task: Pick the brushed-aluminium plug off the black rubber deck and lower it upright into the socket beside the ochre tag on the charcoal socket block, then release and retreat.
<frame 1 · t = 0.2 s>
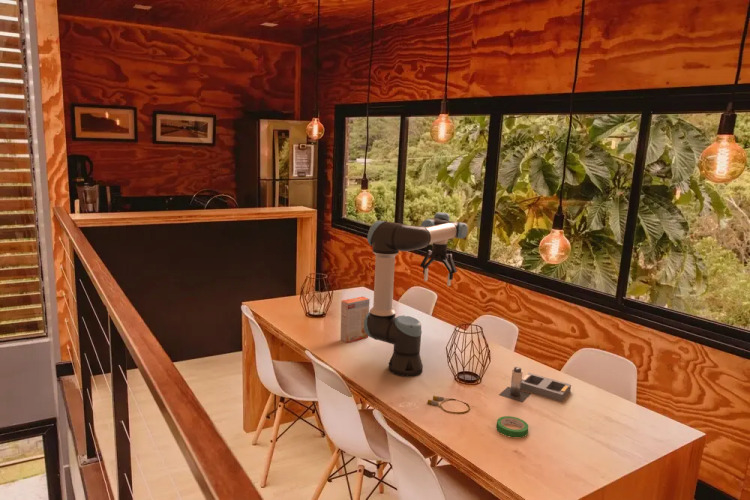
hand: (437, 283, 287), 28 cm above the table, fingers open, 13 cm apart
looped connector cable: (449, 406, 215), on the table
cracker box: (354, 339, 280), on the table
socket block: (543, 392, 230), on the table
deck: (514, 396, 225), on the table
tape roll: (511, 430, 199), on the table
plug: (515, 394, 225), point 1 cm above the table, touching deck
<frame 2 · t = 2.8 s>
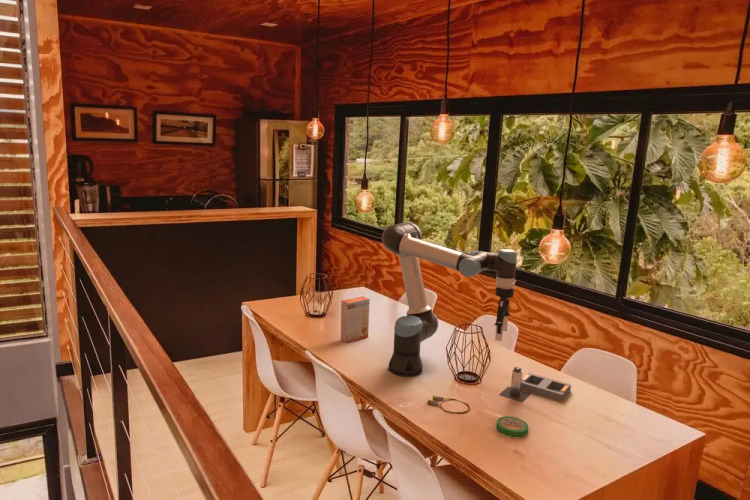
hand: (501, 335, 234), 21 cm above the table, fingers open, 13 cm apart
nothing on the table moved.
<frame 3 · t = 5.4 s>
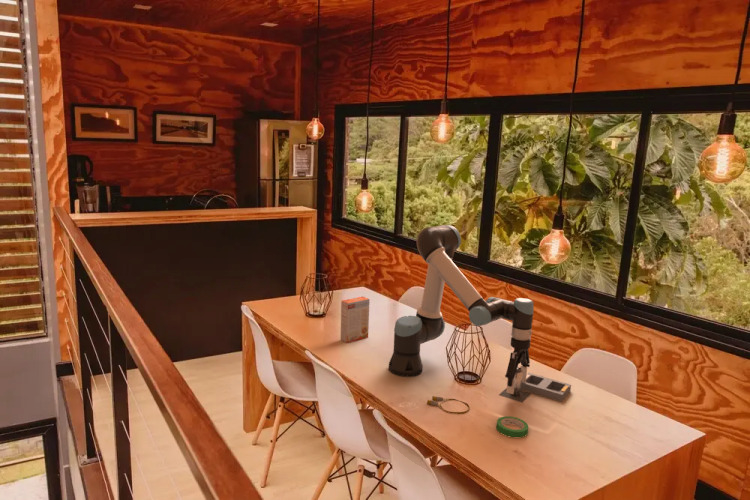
hand: (516, 387, 224), 4 cm above the table, fingers open, 13 cm apart
nothing on the table moved.
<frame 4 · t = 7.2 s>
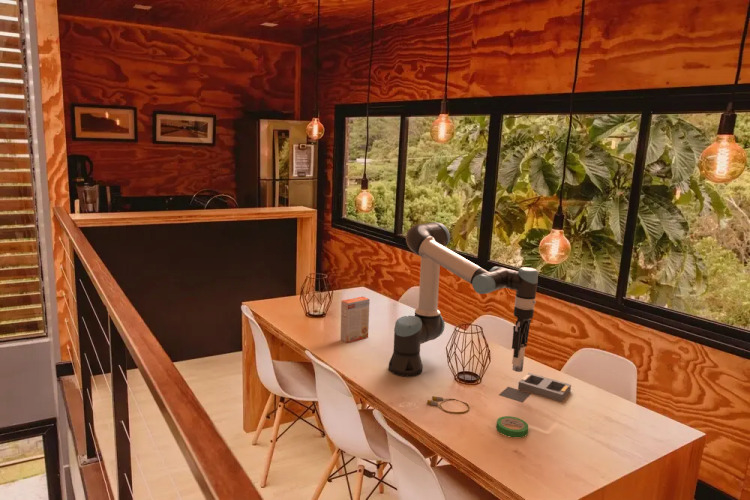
hand: (517, 362, 222), 15 cm above the table, fingers closed on plug, 3 cm apart
plug: (517, 369, 223), point 12 cm above the table, touching gripper
everything else where it was.
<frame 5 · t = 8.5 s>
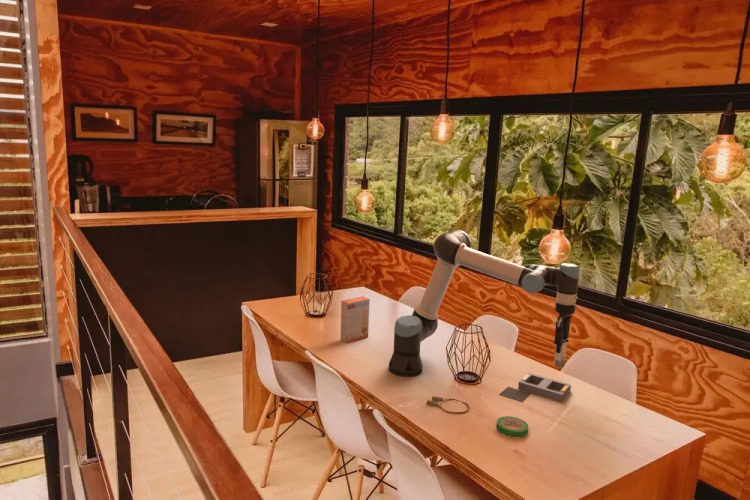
hand: (559, 358, 224), 16 cm above the table, fingers closed on plug, 3 cm apart
plug: (559, 365, 225), point 13 cm above the table, touching gripper
everything else where it was.
when the fingers open (4 cm above the table, at t = 10.3 s): plug stays where it is, resting on socket block.
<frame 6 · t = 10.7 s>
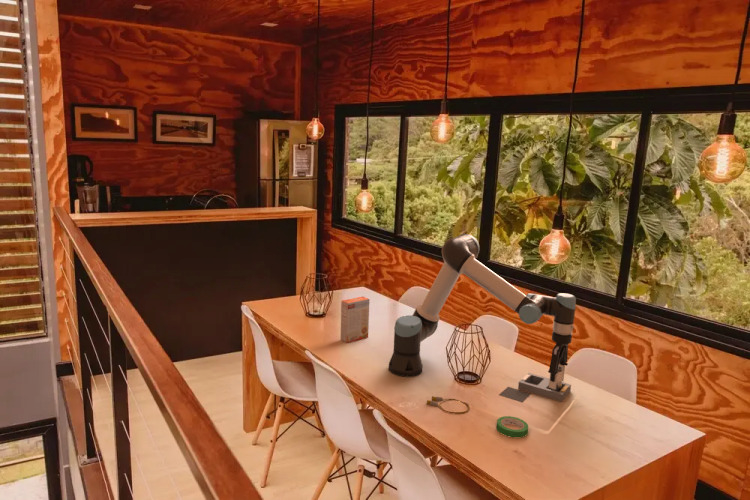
hand: (556, 383, 227), 5 cm above the table, fingers open, 9 cm apart
plug: (555, 393, 227), point 1 cm above the table, touching socket block
everything else where it was.
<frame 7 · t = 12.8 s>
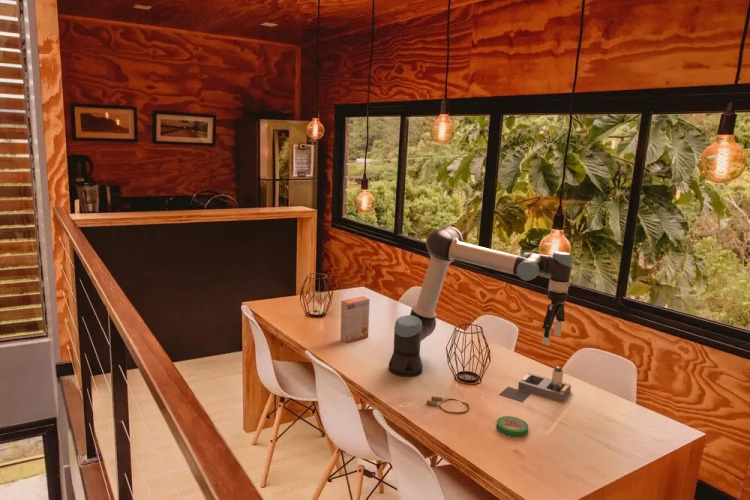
hand: (551, 340, 228), 22 cm above the table, fingers open, 13 cm apart
nothing on the table moved.
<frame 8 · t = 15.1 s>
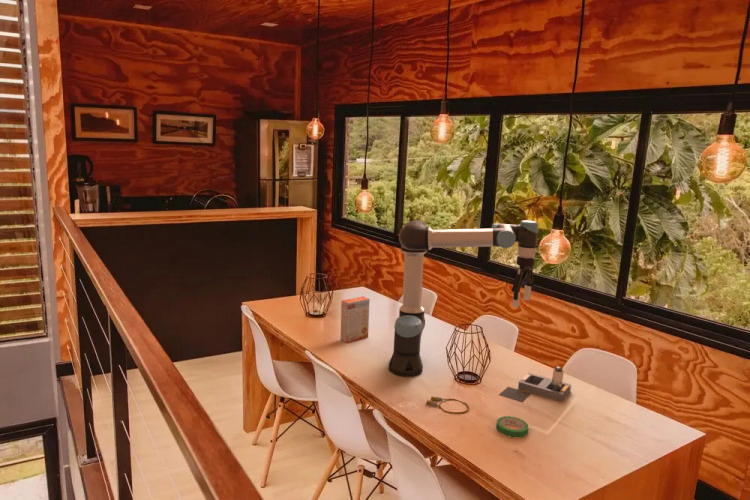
hand: (521, 303, 244), 32 cm above the table, fingers open, 13 cm apart
nothing on the table moved.
at the end: plug 0.2 cm from the target spot on the socket block, point 1.0 cm above the socket block's base; plug tilted 1°; the gripper is holding nothing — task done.
